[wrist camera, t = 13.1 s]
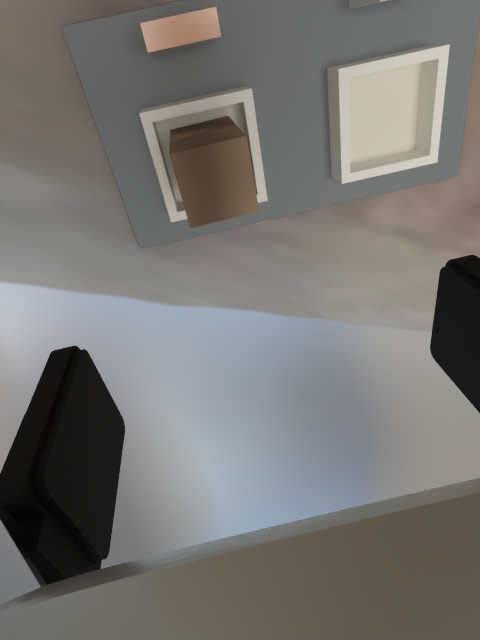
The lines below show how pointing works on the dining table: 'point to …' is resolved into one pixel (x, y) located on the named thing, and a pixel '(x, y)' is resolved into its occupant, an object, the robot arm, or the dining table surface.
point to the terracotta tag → (181, 30)
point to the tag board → (283, 100)
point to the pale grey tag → (363, 3)
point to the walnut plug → (213, 171)
